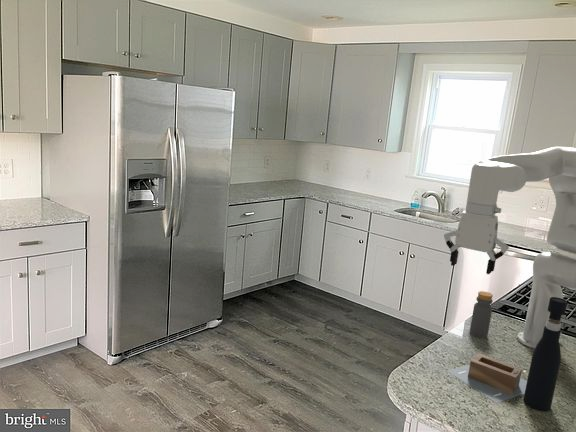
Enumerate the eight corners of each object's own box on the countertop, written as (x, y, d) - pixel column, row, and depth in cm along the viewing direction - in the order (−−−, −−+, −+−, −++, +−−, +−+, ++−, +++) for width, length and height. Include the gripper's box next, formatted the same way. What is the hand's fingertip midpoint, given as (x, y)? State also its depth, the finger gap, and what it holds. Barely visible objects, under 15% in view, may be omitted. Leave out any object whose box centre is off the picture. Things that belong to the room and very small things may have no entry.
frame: (475, 368, 144) (478, 352, 143) (518, 385, 137) (522, 368, 136) (467, 377, 139) (470, 360, 138) (512, 394, 132) (515, 376, 131)
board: (488, 363, 151) (490, 352, 150) (539, 392, 136) (541, 380, 136) (446, 374, 142) (447, 362, 141) (495, 407, 128) (498, 394, 127)
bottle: (482, 340, 167) (489, 298, 164) (466, 333, 171) (473, 292, 168) (490, 335, 171) (498, 294, 167) (474, 329, 175) (481, 289, 172)
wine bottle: (553, 417, 125) (577, 306, 119) (526, 412, 126) (548, 302, 120) (545, 403, 131) (568, 297, 125) (519, 399, 132) (541, 293, 126)
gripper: (517, 213, 133) (506, 273, 137) (453, 202, 143) (444, 258, 146) (511, 217, 127) (500, 280, 131) (444, 205, 137) (436, 264, 140)
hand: (470, 268), depth 139 cm, fingers open, 9 cm apart
